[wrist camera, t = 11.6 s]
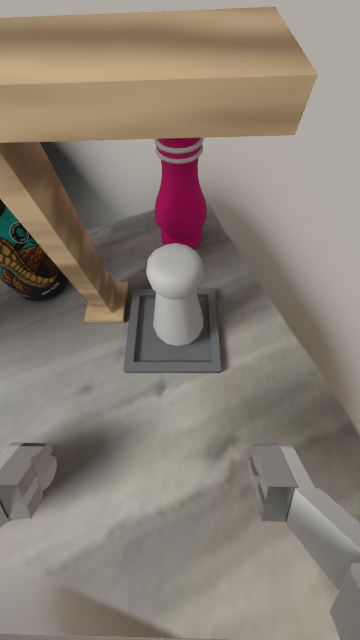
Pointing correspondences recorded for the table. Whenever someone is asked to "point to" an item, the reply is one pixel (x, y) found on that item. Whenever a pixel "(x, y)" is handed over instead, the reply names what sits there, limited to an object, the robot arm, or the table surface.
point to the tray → (164, 358)
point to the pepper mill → (180, 192)
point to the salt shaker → (176, 293)
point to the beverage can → (26, 261)
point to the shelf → (132, 106)
